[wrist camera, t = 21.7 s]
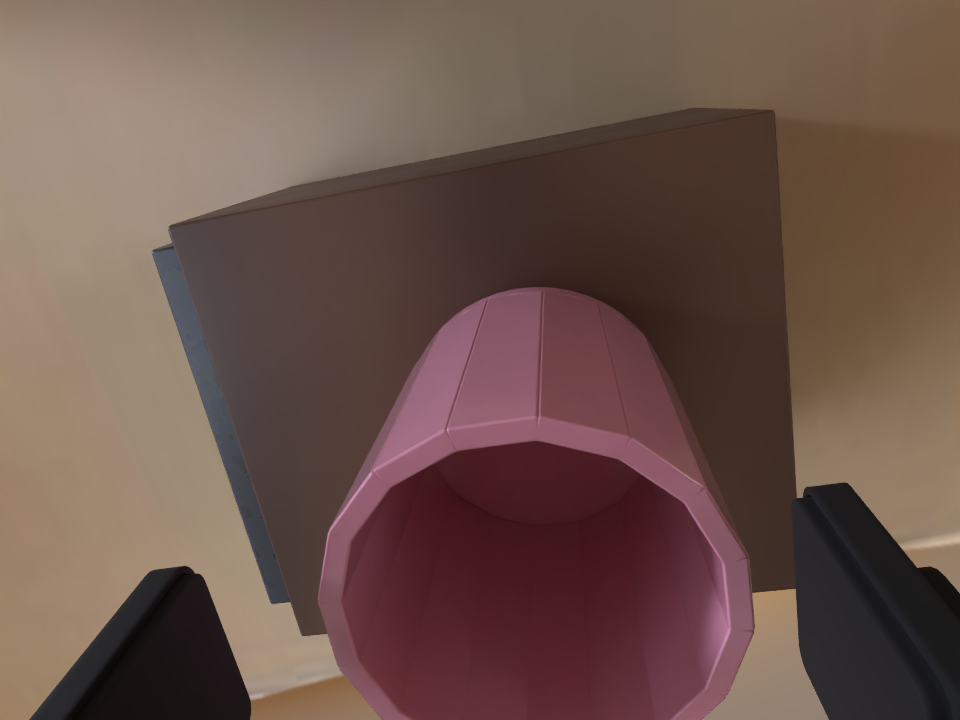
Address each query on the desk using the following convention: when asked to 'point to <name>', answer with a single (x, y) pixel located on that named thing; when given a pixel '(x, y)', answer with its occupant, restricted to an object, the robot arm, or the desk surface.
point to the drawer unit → (493, 269)
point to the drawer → (219, 419)
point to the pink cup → (537, 531)
